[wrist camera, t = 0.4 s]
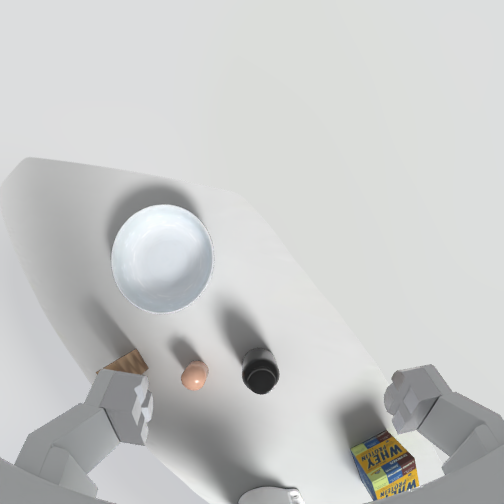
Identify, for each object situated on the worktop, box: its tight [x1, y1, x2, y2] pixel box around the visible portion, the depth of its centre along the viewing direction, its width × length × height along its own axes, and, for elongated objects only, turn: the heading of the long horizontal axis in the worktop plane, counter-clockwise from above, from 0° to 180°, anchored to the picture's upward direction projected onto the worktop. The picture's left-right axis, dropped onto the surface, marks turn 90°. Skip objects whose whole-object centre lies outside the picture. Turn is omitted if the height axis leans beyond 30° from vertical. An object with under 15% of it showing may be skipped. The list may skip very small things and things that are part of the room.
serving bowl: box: [111, 204, 214, 314], centre depth 57 cm, size 21×21×7 cm
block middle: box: [109, 353, 143, 375], centre depth 52 cm, size 5×5×4 cm
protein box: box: [350, 430, 419, 501], centre depth 49 cm, size 10×15×16 cm
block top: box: [96, 357, 132, 375], centre depth 48 cm, size 5×5×4 cm
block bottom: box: [119, 349, 148, 373], centre depth 56 cm, size 5×5×4 cm
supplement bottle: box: [242, 348, 279, 394], centre depth 53 cm, size 7×7×12 cm
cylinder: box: [181, 361, 208, 390], centre depth 55 cm, size 5×5×6 cm
